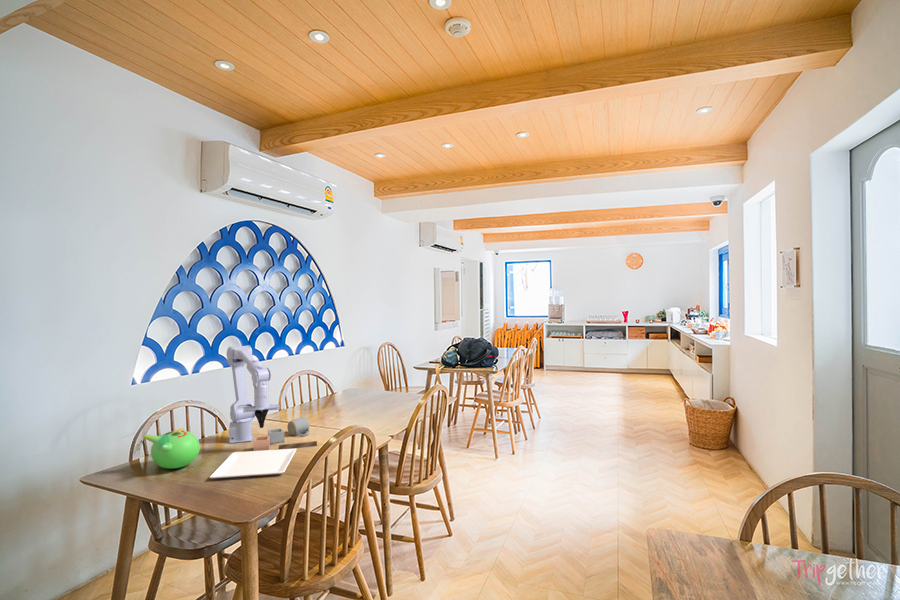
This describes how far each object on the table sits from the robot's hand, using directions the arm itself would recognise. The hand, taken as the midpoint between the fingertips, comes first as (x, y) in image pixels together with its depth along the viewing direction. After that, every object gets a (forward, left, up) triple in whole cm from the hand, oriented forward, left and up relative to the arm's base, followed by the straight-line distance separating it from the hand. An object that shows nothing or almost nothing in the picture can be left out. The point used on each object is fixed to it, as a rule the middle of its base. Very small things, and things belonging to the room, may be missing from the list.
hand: (261, 427), depth 193 cm
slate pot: (+5, +10, -10) cm, 15 cm away
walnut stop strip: (+15, -2, -10) cm, 18 cm away
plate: (0, -19, -10) cm, 22 cm away
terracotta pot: (0, 0, -10) cm, 10 cm away
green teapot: (-31, -10, -10) cm, 34 cm away
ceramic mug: (+15, +18, -10) cm, 26 cm away
